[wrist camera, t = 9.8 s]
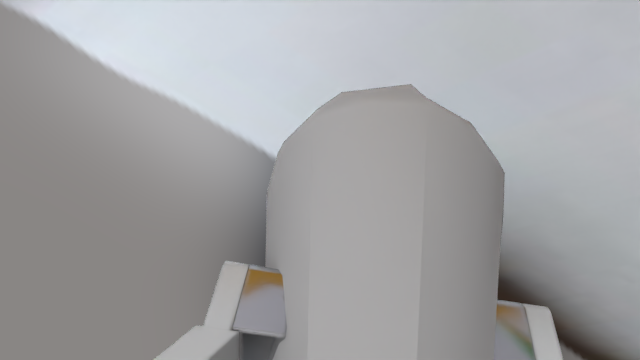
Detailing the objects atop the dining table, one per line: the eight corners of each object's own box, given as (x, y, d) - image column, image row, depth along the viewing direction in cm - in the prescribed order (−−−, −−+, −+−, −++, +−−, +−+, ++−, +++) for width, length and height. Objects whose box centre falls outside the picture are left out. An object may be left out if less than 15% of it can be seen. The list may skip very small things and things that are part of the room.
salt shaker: (385, 4, 14) (352, 821, 4) (537, 144, 16) (787, 919, 6) (243, 147, 17) (12, 799, 7) (385, 248, 19) (370, 868, 9)
